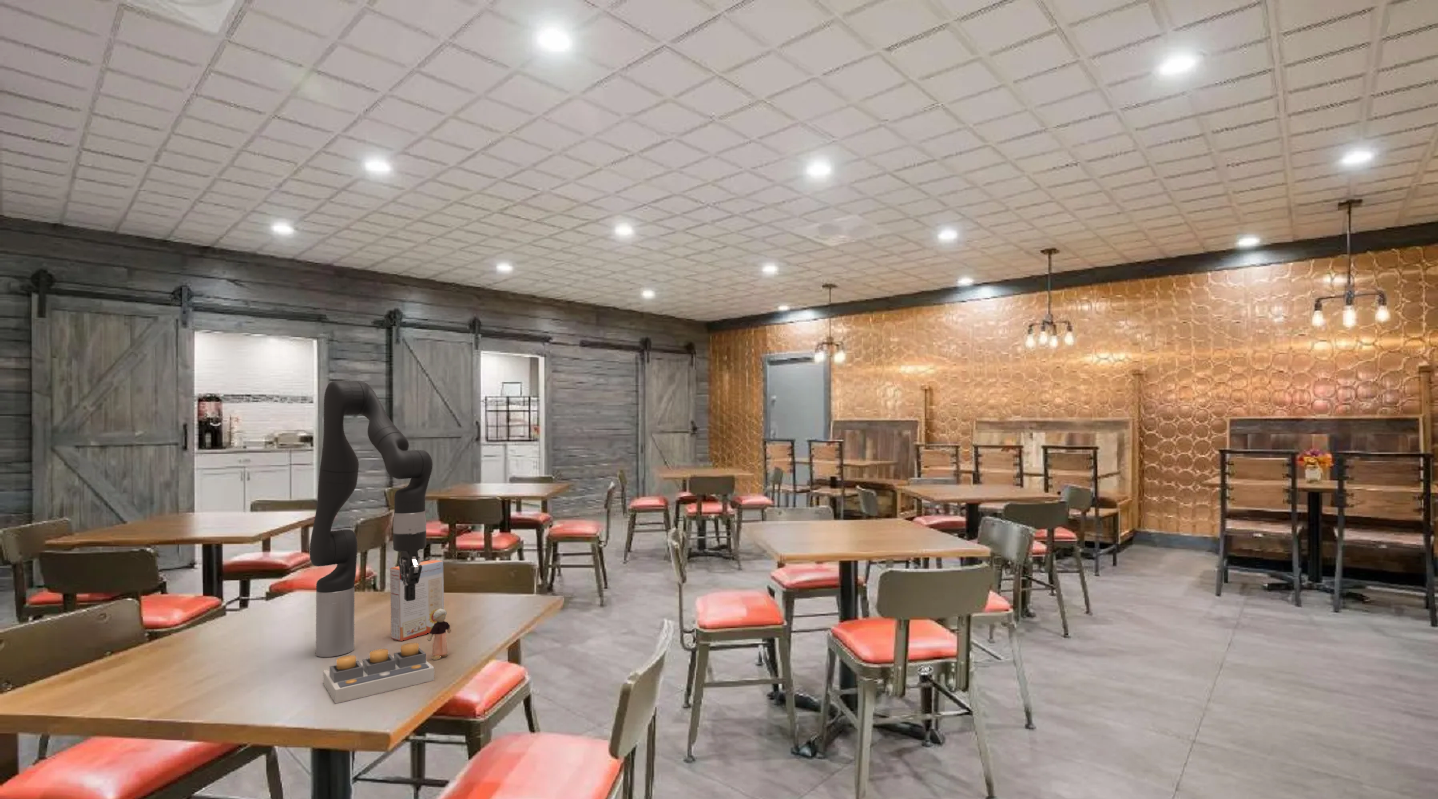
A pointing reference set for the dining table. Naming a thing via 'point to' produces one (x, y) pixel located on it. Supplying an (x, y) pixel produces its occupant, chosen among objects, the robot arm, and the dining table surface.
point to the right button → (409, 649)
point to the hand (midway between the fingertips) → (409, 600)
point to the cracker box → (416, 601)
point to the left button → (346, 662)
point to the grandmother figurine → (439, 635)
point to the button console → (377, 676)
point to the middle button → (378, 655)
